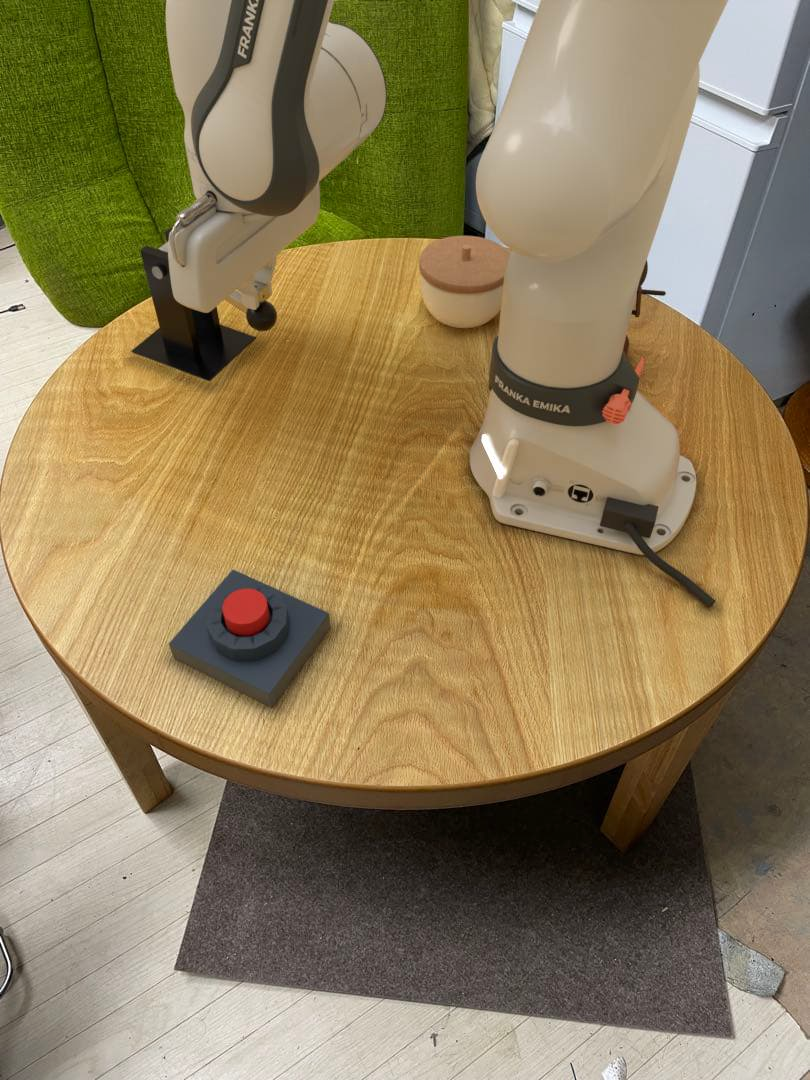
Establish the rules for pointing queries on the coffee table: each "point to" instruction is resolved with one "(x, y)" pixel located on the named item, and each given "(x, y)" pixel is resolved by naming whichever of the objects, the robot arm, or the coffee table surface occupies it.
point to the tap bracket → (185, 327)
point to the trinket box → (463, 280)
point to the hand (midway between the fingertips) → (257, 301)
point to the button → (246, 612)
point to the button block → (252, 641)
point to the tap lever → (256, 318)
